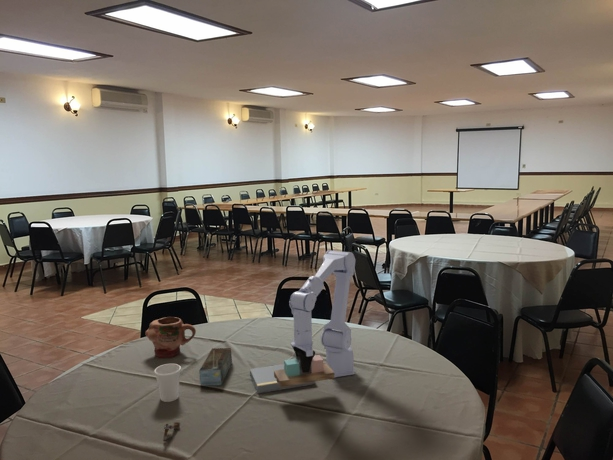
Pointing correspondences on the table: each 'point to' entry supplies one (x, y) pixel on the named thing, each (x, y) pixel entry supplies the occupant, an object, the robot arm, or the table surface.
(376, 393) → the table surface
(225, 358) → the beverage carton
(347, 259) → the robot arm
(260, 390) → the grey flat block
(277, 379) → the pallet
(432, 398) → the table surface
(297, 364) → the block
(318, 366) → the crate rose
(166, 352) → the terracotta mug
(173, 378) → the dixie cup
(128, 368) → the table surface
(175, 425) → the toy blaster gun
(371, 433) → the table surface
